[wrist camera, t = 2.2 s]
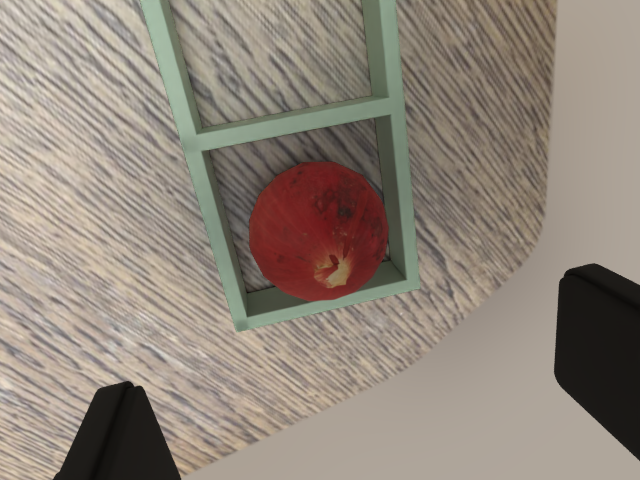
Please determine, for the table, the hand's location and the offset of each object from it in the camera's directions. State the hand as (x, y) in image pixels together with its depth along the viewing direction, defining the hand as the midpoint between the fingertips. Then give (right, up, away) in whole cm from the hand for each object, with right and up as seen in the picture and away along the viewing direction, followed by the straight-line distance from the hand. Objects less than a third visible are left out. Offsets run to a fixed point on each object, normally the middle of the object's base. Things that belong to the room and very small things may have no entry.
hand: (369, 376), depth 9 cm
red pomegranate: (-2, +5, +12) cm, 13 cm away
